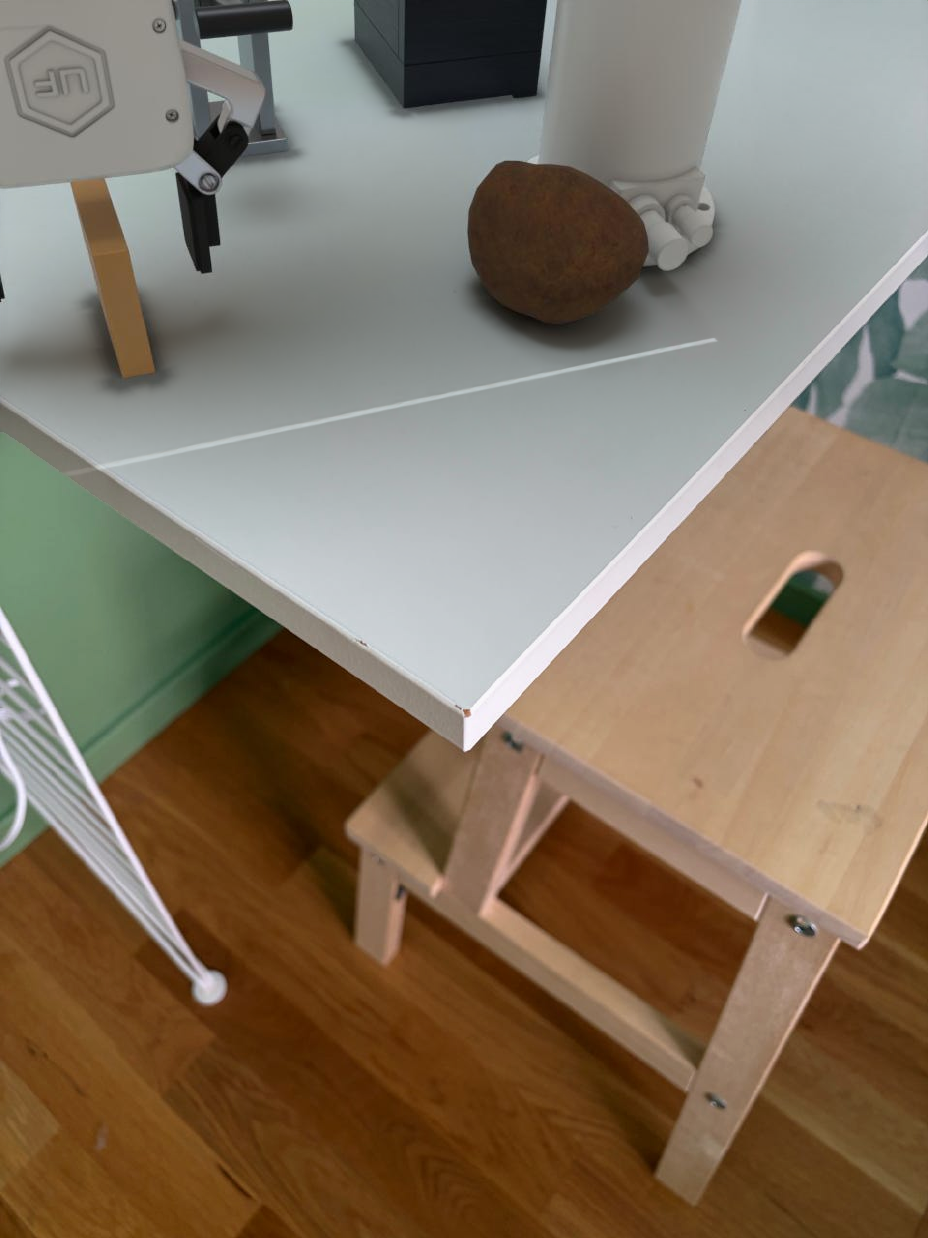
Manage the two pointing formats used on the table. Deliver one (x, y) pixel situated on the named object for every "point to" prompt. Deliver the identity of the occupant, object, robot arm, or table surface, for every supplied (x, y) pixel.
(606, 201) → the potato
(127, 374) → the toast
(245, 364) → the table surface
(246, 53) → the lever bracket
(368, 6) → the toaster
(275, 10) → the lever
